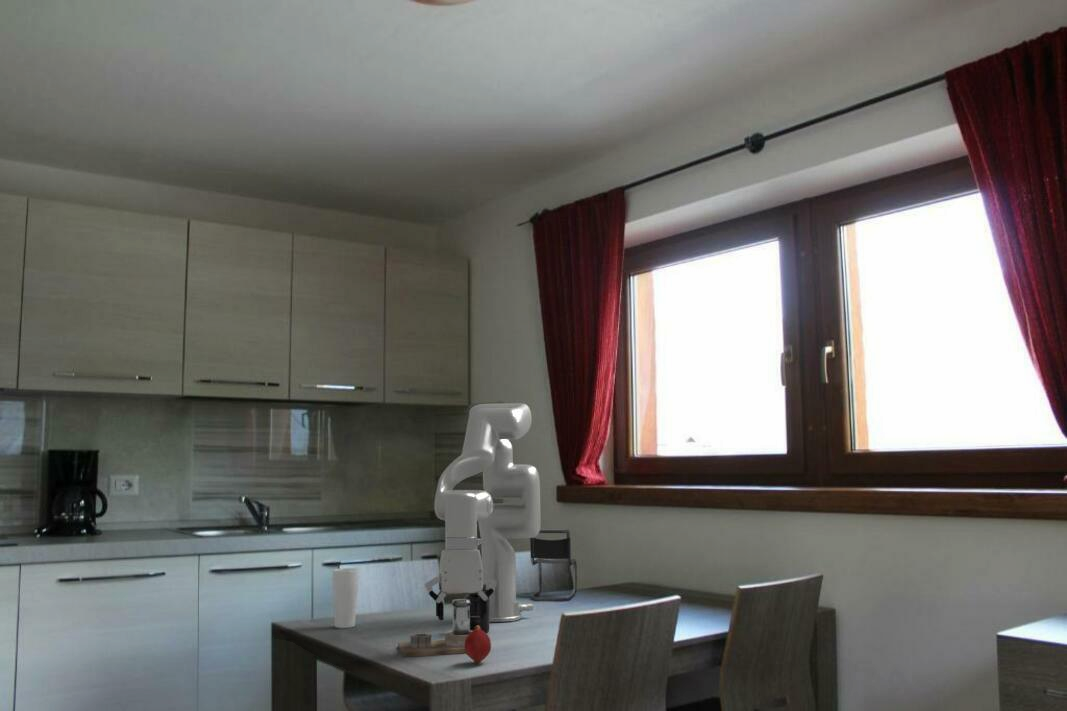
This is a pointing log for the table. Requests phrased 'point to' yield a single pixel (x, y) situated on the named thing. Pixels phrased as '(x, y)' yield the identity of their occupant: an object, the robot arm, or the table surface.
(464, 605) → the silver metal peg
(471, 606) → the supplement bottle
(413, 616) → the table surface
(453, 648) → the fitting board
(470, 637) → the onion
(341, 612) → the drinking glass
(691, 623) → the table surface
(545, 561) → the chair
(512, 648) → the table surface
